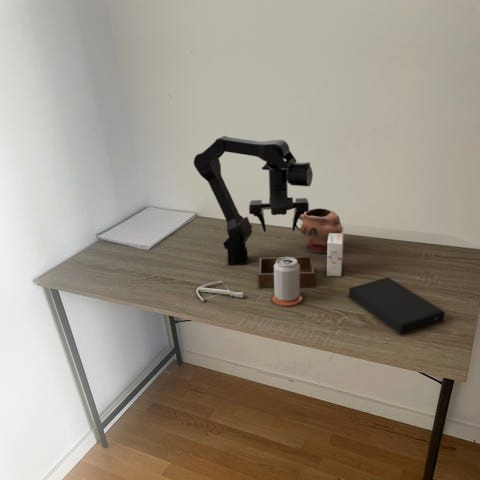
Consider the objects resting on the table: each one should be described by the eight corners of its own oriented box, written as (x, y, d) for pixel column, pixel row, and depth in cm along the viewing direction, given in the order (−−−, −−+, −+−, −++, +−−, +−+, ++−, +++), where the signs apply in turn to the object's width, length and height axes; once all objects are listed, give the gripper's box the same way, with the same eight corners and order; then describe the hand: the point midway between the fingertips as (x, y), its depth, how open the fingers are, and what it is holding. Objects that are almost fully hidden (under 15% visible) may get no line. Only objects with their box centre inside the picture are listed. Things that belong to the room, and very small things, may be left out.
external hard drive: (387, 285, 144) (388, 277, 142) (443, 320, 126) (444, 311, 124) (348, 297, 140) (349, 288, 138) (400, 335, 121) (402, 325, 120)
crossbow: (188, 301, 145) (187, 296, 144) (207, 283, 154) (206, 278, 153) (234, 307, 138) (233, 301, 137) (251, 288, 148) (250, 282, 147)
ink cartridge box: (327, 264, 159) (328, 223, 151) (341, 265, 158) (344, 224, 150) (325, 276, 152) (327, 233, 144) (341, 276, 151) (343, 234, 143)
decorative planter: (284, 250, 172) (284, 213, 164) (298, 238, 180) (298, 203, 173) (336, 258, 163) (338, 220, 155) (348, 245, 171) (350, 209, 164)
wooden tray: (259, 288, 148) (258, 274, 145) (260, 270, 158) (259, 257, 156) (314, 286, 147) (314, 272, 144) (311, 269, 157) (311, 256, 154)
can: (302, 292, 142) (303, 257, 136) (294, 304, 137) (294, 267, 130) (279, 289, 145) (279, 253, 139) (270, 300, 140) (269, 264, 133)
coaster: (272, 306, 138) (272, 305, 137) (272, 292, 145) (272, 290, 145) (303, 306, 137) (303, 304, 137) (301, 291, 145) (301, 289, 144)
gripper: (247, 193, 138) (249, 242, 147) (310, 190, 137) (309, 240, 145) (248, 182, 148) (251, 229, 156) (307, 179, 146) (307, 226, 155)
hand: (279, 231), depth 153 cm, fingers open, 9 cm apart
